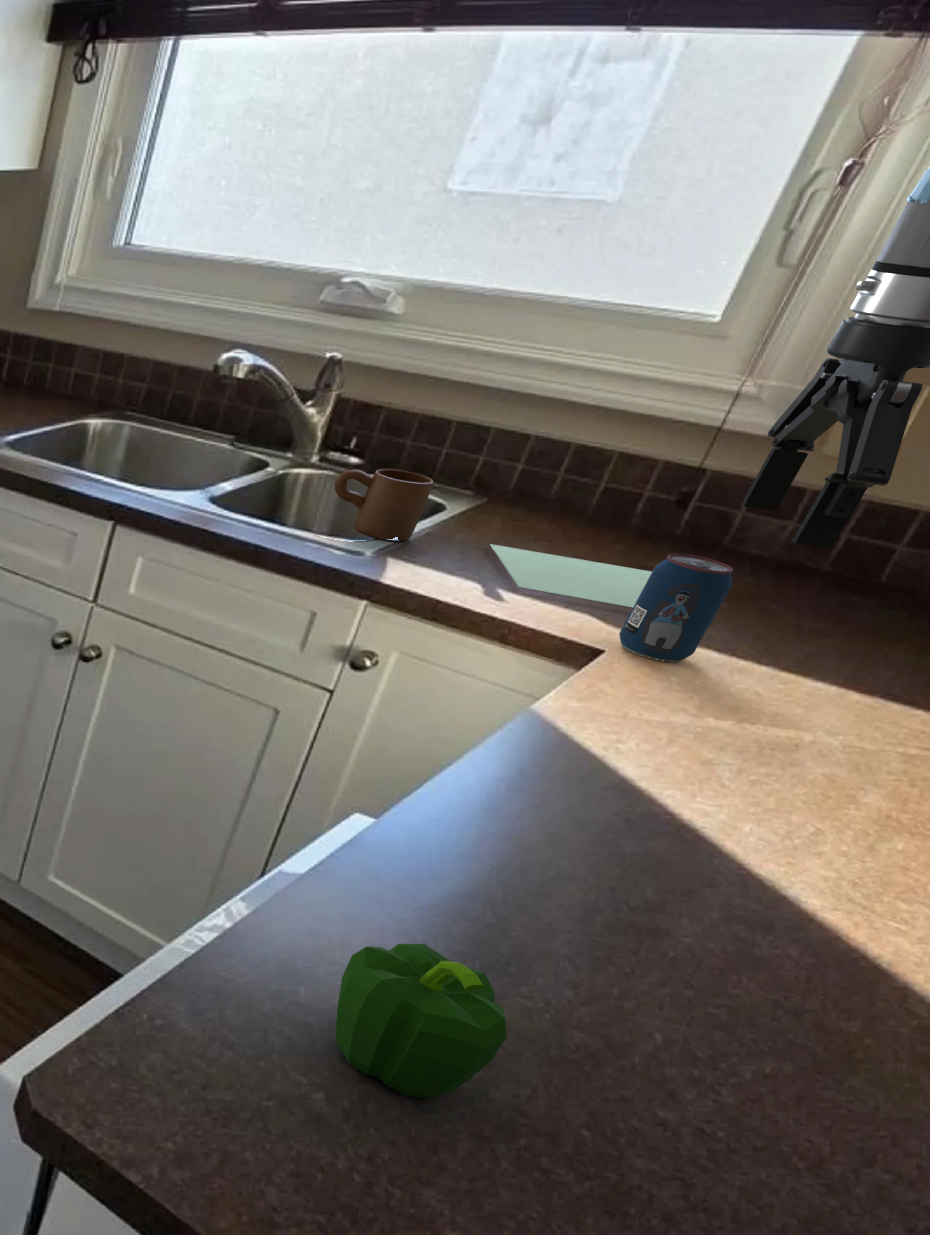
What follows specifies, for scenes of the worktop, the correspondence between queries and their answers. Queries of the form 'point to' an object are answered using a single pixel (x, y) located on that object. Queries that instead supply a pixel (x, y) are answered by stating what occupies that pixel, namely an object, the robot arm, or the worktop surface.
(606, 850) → the worktop surface
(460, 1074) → the bell pepper
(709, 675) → the worktop surface
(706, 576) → the soda can
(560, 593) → the mat
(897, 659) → the worktop surface
